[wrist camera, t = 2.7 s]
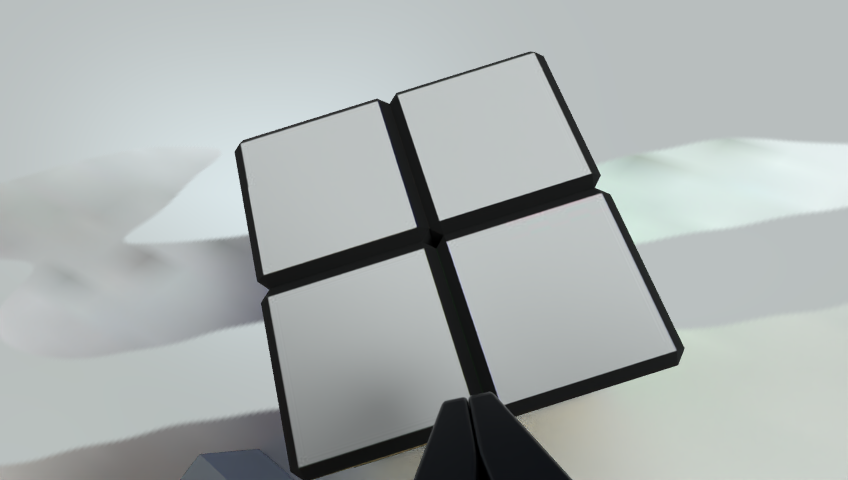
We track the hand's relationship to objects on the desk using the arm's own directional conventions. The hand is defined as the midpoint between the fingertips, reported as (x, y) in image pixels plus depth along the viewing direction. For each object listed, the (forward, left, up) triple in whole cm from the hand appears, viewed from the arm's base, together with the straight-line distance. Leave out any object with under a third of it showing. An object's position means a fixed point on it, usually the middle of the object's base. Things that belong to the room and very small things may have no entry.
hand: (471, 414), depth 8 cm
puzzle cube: (+3, +4, -14) cm, 15 cm away
